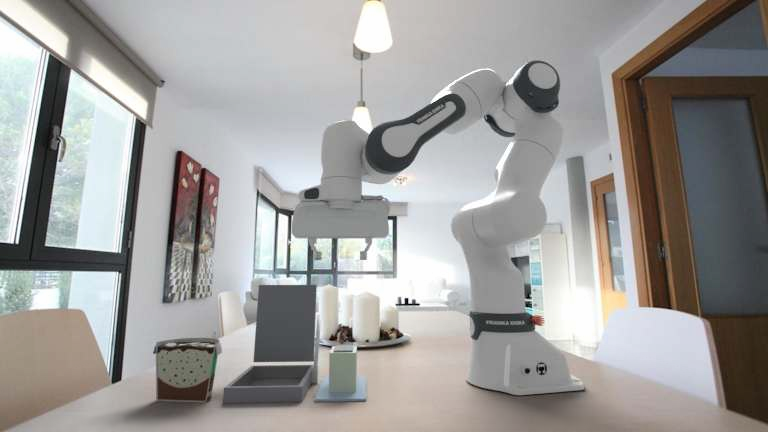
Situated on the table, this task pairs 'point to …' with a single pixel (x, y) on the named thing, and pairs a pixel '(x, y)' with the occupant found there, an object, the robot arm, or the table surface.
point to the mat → (327, 396)
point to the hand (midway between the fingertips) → (340, 260)
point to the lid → (285, 323)
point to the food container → (186, 369)
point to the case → (295, 393)
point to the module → (343, 368)
